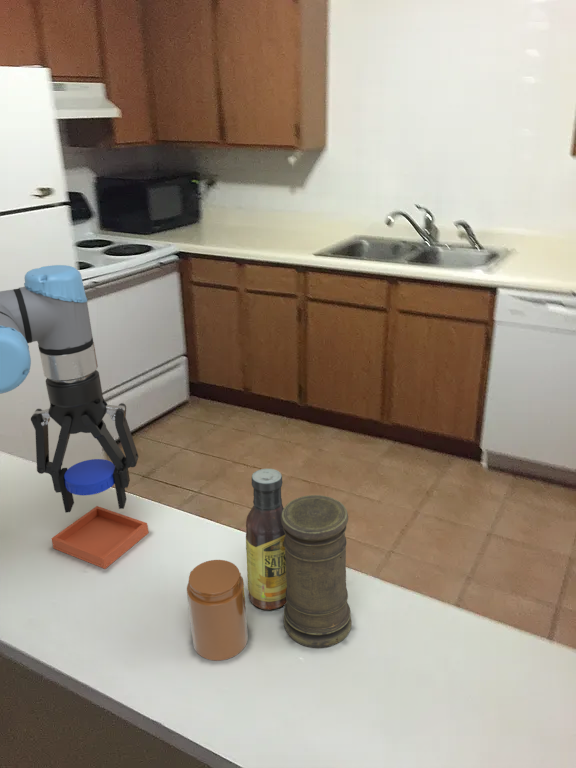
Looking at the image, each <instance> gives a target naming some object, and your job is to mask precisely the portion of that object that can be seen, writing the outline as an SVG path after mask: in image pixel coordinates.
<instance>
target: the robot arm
mask: <svg viewBox="0 0 576 768" xmlns="http://www.w3.org/2000/svg"><path fill="white" fill-rule="evenodd" d="M93 337H94V336H93V331H92V325H91V318H90V311H89V305H88V297H87V295H86V289H85V287H84V281H83V278H82V274H81V272H80V270H78V269H77V268H76V267H74V266H71V265H65V264H54V265H53V264H52V265H45V266H41V267H37V268H32V269H30V270H29V271H27V272H26V273H25V275H24V283H23V286H21V287H18V288H13V289H8V290H0V394H5V393H8V392H11V391H13V390H15V389H17V388H18V387H19V386H20V385H22V384H23V382H25V380H26V379H27V377H28V376H29V374H30V370H31V365H32V358H31V352H30V346H29V344H31V343H35V342H37V348H38V351H39V356H40V360H41V362H40V363H41V366H42V371H43V376H44V377H45V378H46V379H45V386H46V391H47V397H48V401H49V408H47V409H42V408H36V409H35V411H34V412H33V414H32V415H31V417H30V421H31V424H32V426H33V428H34V431H35V434H34V435H35V455H36V456H35V457H36V458H35V459H36V472H38V474H40V475H41V474H48V475H50V477H51V481H52V484H53V489H54V491H55V493H61V498H62V503H63V508H64V512H65V513H66V514H68V513H71V512H72V509H73V507H74V504H75V499H74V494H72V493H70V492H69V491H68V490H67V488H66V486H65V478H64V475H65V472H66V471H67V470H68V469H69V468H68V467H63V462H64V459H65V455H66V451H67V448H68V444H69V442H70V441H69V440H70V437H71V435H76V434H79V433H83V434H91V435H92V437H93V438H94V439H96V440H97V442H98V443H99V445H100V446H101V448H102V449H103V451H104V452H105V453H106V455H107V457H108V458H109V459H110V462H112V463H113V464H114V465H115V469H114V472H113V476H114V482H115V484H114V487H115V493H116V499H117V506H118V509H119V510H122V509H125V507H126V506H125V505H126V502H127V494H126V488H127V489H128V487H129V484H130V481H131V477H130V473H129V469H130V468H135V467H136V466H137V463H138V460H139V453H138V450H137V447H136V443H135V441H134V438H133V435H132V432H131V429H130V426H129V422H128V420H127V418H126V416H127V406H126V404H125V403H124V402H121V403H119V404H118V405H113V404H108V402H107V401H106V400H105V399H104V395H103V390H102V384H101V377H100V372H99V371H98V370H97V369H98V366H99V365H98V360H97V359H98V358H97V354H96V347H95V342H94V338H93ZM106 414H108V415H109V416H110V417H109V418H110V419H111V421H113V422H114V424H115V429H116V432H117V435H118V438H119V441H120V444H121V447H122V449H121V448H120V446H119V445H118V443H117V442H116V440H115V439H114V437H113V435H112V434H111V432H110V430H109V429H108V428H107V424H106V422H105V421H104V420H103V419H104V417H105V416H106ZM51 419H52V420H53V421H54V422H55V423H57V424H58V425H59V427H60V431H59V434H58V438H57V439H58V440H57V443H56V448H55V451H54V455H53V458H52V461H50V446H49V445H50V443H49V441H50V440H49V423H50V420H51ZM122 450H123V451H122Z"/></svg>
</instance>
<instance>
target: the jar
mask: <svg viewBox="0 0 576 768" xmlns="http://www.w3.org/2000/svg"><path fill="white" fill-rule="evenodd" d="M186 595H187V596H186V597H187V604H188V610H189V611H188V612H189V621H190V628H191V629H190V630H191V636H192V645H193V648H194V650H195V652H196V653H197V654H198V655H199V656H200V657H202V658H204V659H206V660H209V661H216V662H217V661H226V660H229V659H232V658H234V657H236V656H237V655H239V654H240V653H242V651H243V650H244V649H245V647H246V646H247V644H248V640H249V635H248V620H247V608H246V607H247V606H246V596H245V582H244V579H243V576H242V573H241V572H240V570H239V568H238V566H237V565H236V564H235V563H233V562H231V561H228V560H224V559H211V560H207V561H204V562H202V563H199V564H198V565H197V566H195V567H194V568H193V569H192V570H191V571H190V573H189V575H188V583H187V585H186Z"/></svg>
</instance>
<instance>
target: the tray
mask: <svg viewBox="0 0 576 768" xmlns="http://www.w3.org/2000/svg"><path fill="white" fill-rule="evenodd" d="M147 535H149V527H148V523H147V522H146V521H142V520H139V519H137V518H134V517H131V516H128V515H125V514H122V513H118V512H117V511H113V510H110V509H108V508H104V507H101V506H99V505H96V506H95V507H93V508H92V509H90V510H89V511H88V512H86V513H85V514H83V515H82V516H80V517H79V518H77V519H76V520H75V521H73V522H72V523H71V524H69V525H68V526H66V527H65V528H64V529H62V530H61V531H59V532H58V533H56V534H55V535H54V536H53V537H51V544H52V549H54V550H56V551H59V552H61V553H64V554H67V555H69V556H71V557H73V558H76V559H79V560H82V561H84V562H86V563H90V564H92V565H94V566H96V567H98V568H101V569H104V570H106V569H107V568H109V566H111V565H112V564H113V563H114V562H115V561H117V560H118V559H119V558H120V557H122V556H123V555H124V554H126V553H127V552H128V551H129V550H130V549H131V548H132V547H134V546H135V545H136V544H137V543H139V542H140V541H141V540H142V539H144V538H145V537H146V536H147Z"/></svg>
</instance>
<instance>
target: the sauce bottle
mask: <svg viewBox="0 0 576 768" xmlns="http://www.w3.org/2000/svg"><path fill="white" fill-rule="evenodd" d="M251 486H252V488H253V495H252V496H253V501H252V503H253V506H252V507H251V508H250V510H249V512H248V514H247V516H246V521H245V530H246V532H245V551H246V552H245V553H246V577H247V591H248V598H249V600H250V602H251V604H252V605H253V606H255V607H256V608H259V609H261V610H266V611H267V610H268V611H269V610H276V609H279V608H281V607H283V606H285V605H286V603H287V599H286V588H287V579H286V560H285V547H284V538H285V532H284V529H283V526H282V523H281V514H282V511H283V509H284V505H283V498H282V486H283V474H282V473H281V472H280V471H279V470H277V469H274V468H261V469H257V470H255V471H254V472H253V473H252V475H251Z"/></svg>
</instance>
